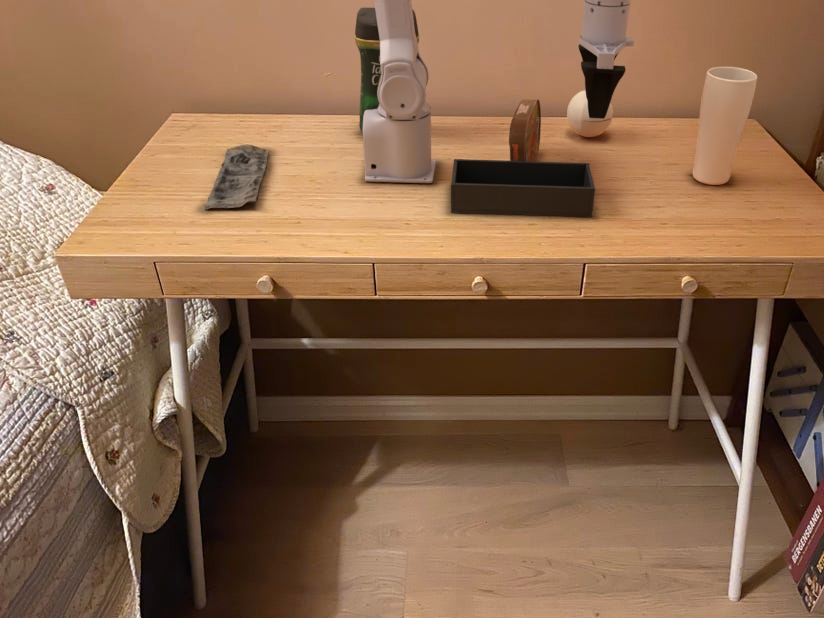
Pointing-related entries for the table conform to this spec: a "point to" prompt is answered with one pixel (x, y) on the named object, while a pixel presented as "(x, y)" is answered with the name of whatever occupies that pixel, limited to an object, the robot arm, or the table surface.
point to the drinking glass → (722, 122)
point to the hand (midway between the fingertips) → (595, 108)
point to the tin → (525, 131)
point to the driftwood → (238, 177)
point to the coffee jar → (370, 58)
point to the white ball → (586, 117)
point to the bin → (522, 188)
